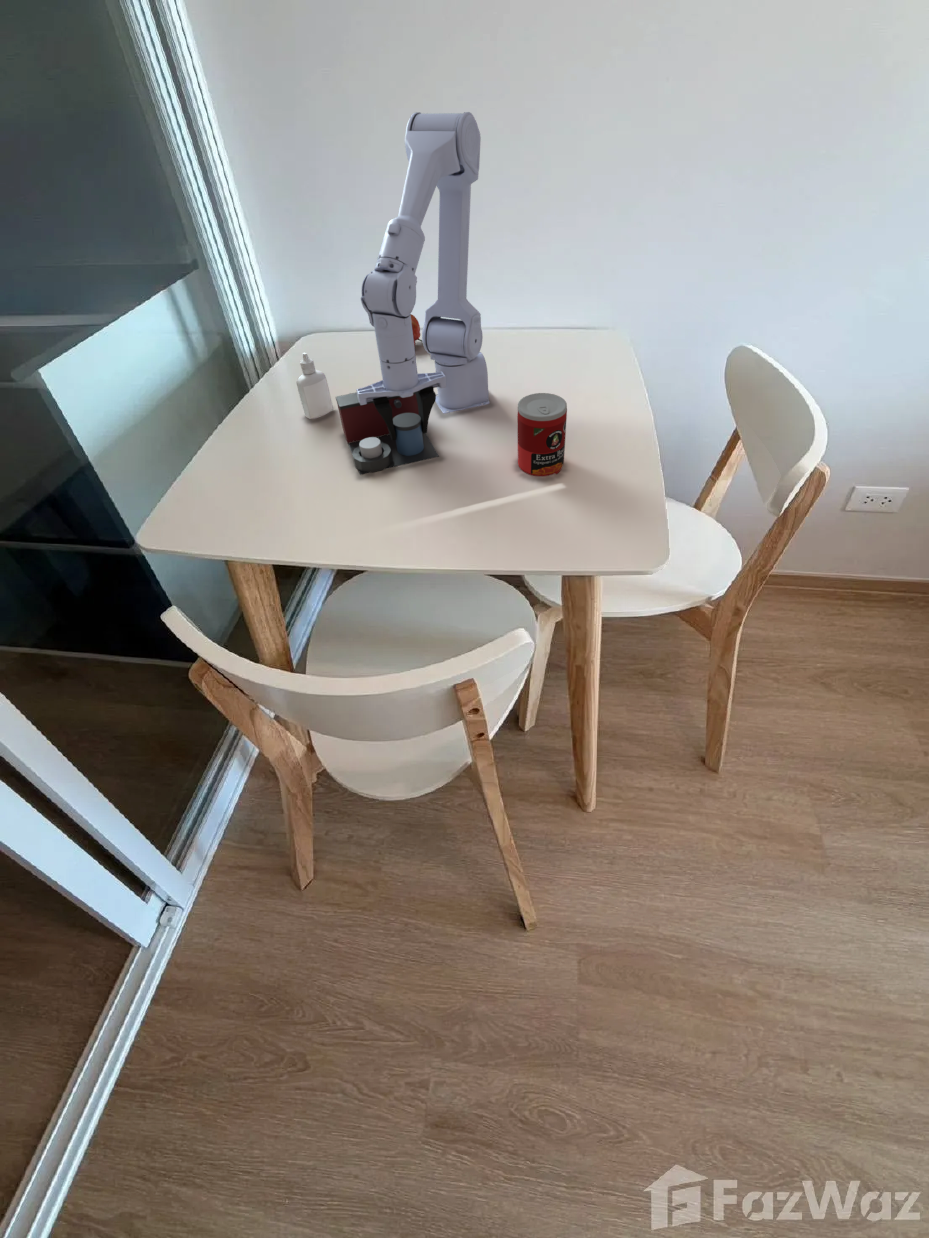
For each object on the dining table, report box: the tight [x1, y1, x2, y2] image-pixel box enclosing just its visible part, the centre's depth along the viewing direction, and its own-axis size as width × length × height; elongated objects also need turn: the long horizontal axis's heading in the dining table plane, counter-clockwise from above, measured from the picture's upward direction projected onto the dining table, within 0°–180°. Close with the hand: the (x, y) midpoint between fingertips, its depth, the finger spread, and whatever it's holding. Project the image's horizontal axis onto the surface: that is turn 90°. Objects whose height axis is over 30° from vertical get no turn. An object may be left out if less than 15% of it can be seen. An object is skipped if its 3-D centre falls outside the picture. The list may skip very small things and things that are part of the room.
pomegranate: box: [411, 313, 422, 348], centre depth 138 cm, size 7×7×10 cm
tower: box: [335, 391, 419, 444], centre depth 112 cm, size 5×14×8 cm, turn 108°
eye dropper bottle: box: [296, 352, 334, 420], centre depth 117 cm, size 4×6×12 cm
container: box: [393, 413, 424, 456], centre depth 107 cm, size 5×5×6 cm
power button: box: [359, 437, 382, 458], centre depth 105 cm, size 4×4×2 cm
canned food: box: [516, 392, 568, 477], centre depth 100 cm, size 8×8×11 cm
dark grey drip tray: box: [347, 432, 440, 476], centre depth 109 cm, size 11×14×3 cm
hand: (408, 434), depth 107 cm, fingers closed on container, 5 cm apart
